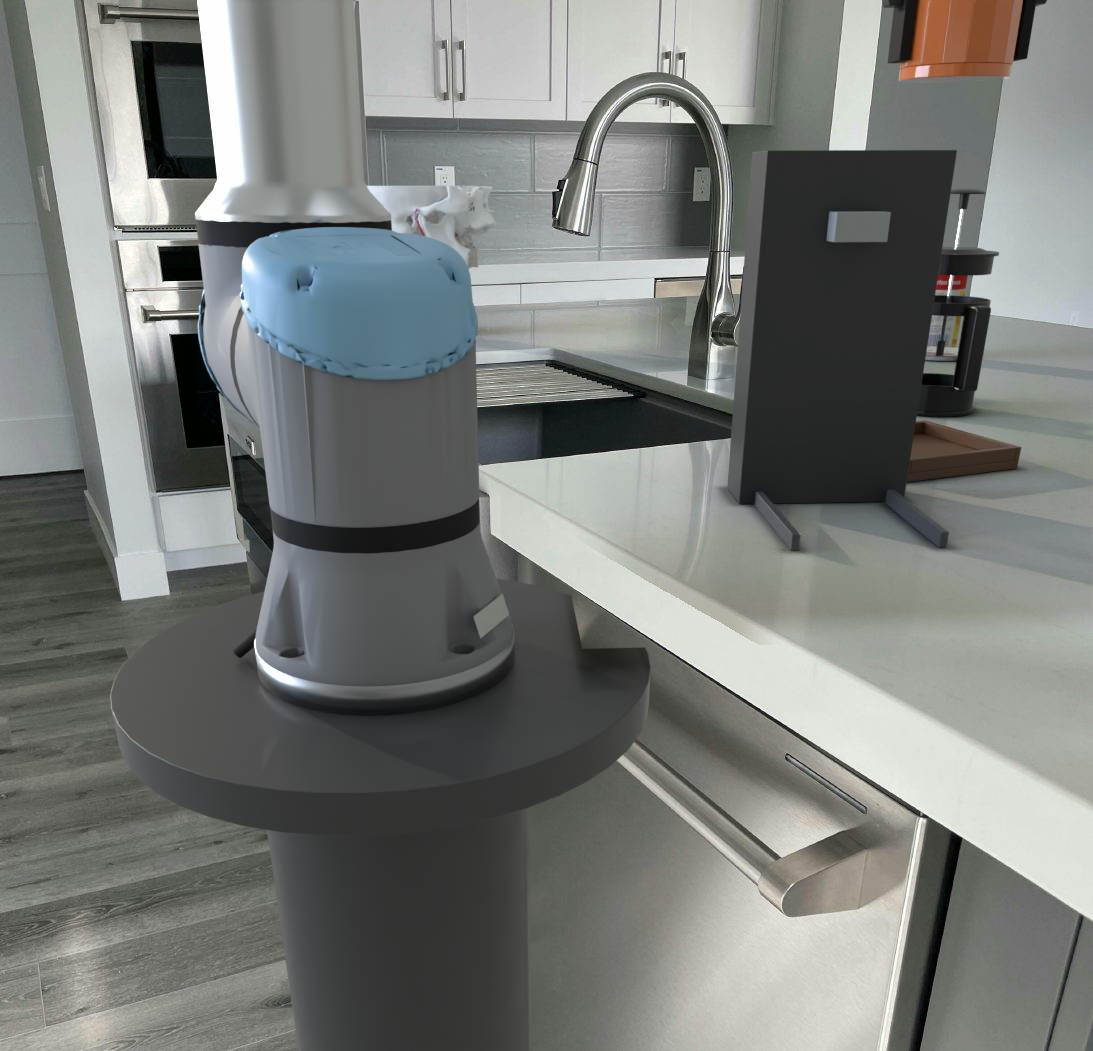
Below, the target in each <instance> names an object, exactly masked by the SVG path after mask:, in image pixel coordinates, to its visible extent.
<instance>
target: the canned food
mask: <svg viewBox="0 0 1093 1051" xmlns="http://www.w3.org/2000/svg"><path fill="white" fill-rule="evenodd" d="M949 281H950V275H938V279H937V286H936V292H935V295H947V293H948V287H949ZM967 282H968V276H957V275H954V277H953V283H952V290H951V295H953V296H966V295H965V294H966V289H967ZM943 319H944V316H935V315H932V319H931V325H930V332H929V338H928V345H927V346H937V342H938V341H939V340H940V338H941V331H942V325H943ZM961 320H962V316H947V321H946V327H945V334H944V341H945V347H956V348H957V344H958V338H959V331H960V326H961Z"/></svg>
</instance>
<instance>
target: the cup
mask: <svg viewBox="0 0 1093 1051" xmlns="http://www.w3.org/2000/svg"><path fill="white" fill-rule="evenodd" d="M1022 4H1023V0H917V5H916V13H915V21H914V30H913V38H912V46H911V54H910V60H908V61H904V62H900V63H899V73H898V82H899V83H903V84H923V85H924V84H927V85H928V84H934V85H935V84H963V83H964V84H966V83H982V82H994V81H1002V80H1008V79H1010V78H1011V77H1012V73H1013V66H1014V61H1013V60H1014V53H1015V47H1016V41H1017V35H1018V28H1019V22H1020V16H1021V10H1022Z"/></svg>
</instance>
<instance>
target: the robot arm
mask: <svg viewBox="0 0 1093 1051" xmlns="http://www.w3.org/2000/svg"><path fill="white" fill-rule="evenodd" d="M881 2H882V7H883V9H893V12H892V21H891V30H890V36H889V37H890V38H889V46H888V55H887V64H900V62H904V61H908V60H910V54H911V46H912V38H913V30H914V21H915V13H916V5H917V0H881ZM1047 2H1048V0H1023V4H1022V10H1021V16H1020V22H1019V28H1018V35H1017V41H1016V47H1015V53H1014V60H1013V62H1018V61H1022V60H1027V59H1028V55H1029V50H1030V44H1031V43H1030V42H1031V37H1032V32H1033V25H1034V18H1035V14H1036V8H1037V7H1040V6H1042V5H1046V3H1047ZM197 10H198V11H197V12H198V18H199V29H200V36H201V47H202V55H203V64H204V73H205V81H206V82H205V83H206V89H207V90H206V91H207V99H208V100H207V101H208V108H209V116H210V125H211V135H212V143H213V152H214V160H215V169H216V170H215V172H216V179H217V180H216V182H215V184H214V187H213V189H212V190H211V192H210V193H209V194H208V195H207V197H206V198H205V199H204V201H203V202H202V203H201V205H200V206H199V207H198V208H197V209H196V211H195V212H194V218H195V226H196V227H195V228H196V234H197V241H198V243H197V245H198V250H199V259H200V260H199V261H200V268H201V276H202V277H201V278H202V284H203V286H202V287H203V290H202V293H201V301H200V304H199V306H198V321H197V335H198V336H197V337H198V342H199V348H200V352H201V355H202V359H203V362H204V365H205V368H206V370H207V372H208V374H209V376H210V378H211V380H212V381H213V383H214V384H215V385H216V388H217V389H218V390H219V392H220V393H221V394H222V396H223V397H224V399H225V400H226V401H227V402H228V403H229V404H230V406H231V407H232V408H233V409H234V410H235V411H236V412H238V413H239V414H241V415H242V416H244V417H245V418H246V419H247V420H248V422H249V423H252V424H253V425H254V426H256V427H257V428H258V429H259V431H260V439H261V447H262V456H263V462H264V470H265V479H266V480H265V481H266V486H267V495H268V496H267V497H268V503H269V509H270V518H271V519H270V520H271V527H272V536H273V538H272V539H273V548H272V554H271V559H270V563H269V570H268V574H267V578H266V582H265V583H266V584H265V587H264V591H265V592H264V591H263V592H264V597H263V602H262V607H261V611H260V616H259V621H258V626H257V628H256V629H255V630H254V631H253V632H252V633H251V634H250V635H248V636H247V637H246V638H245V639H244V640H243V641H242V642H240V643H239V644H238V645H237V646H236V647H235V648H234V649H233V652H234V654H235V655H236V656H237V657H239V658H242V657H243V656H244V655H245V654H246V653H248V652H249V651H250V650H251V649H252V648H253V647H255V655H256V662H257V669H258V676H259V679H260V681H261V683H262V684H263V685H264V687H265V688H266V689H268V690H269V691H270V692H271V693H273V694H274V695H275V696H277V697H279V698H281V699H283V700H285V701H287V702H290V703H292V704H295V705H298V706H301V707H305V708H308V709H313V710H317V711H323V712H329V713H336V714H347V715H391V714H403V713H411V712H418V711H424V710H429V709H434V708H439V707H443V706H447V705H450V704H454V703H457V702H460V701H463V700H466V699H468V698H471V697H473V696H475V695H478V694H480V693H482V692H484V691H486V690H487V689H489V688H491V687H492V686H494V685H495V684H497V683H498V682H500V681H501V680H502V679H503V678H504V677H505V676H506V675H507V674H508V672H509V671H510V670H511V668H512V666H513V663H514V657H515V650H514V627H513V624H512V621H511V617H510V615H509V612H508V609H507V606H506V603H505V600H504V596H503V594H502V592H501V590H500V587H499V584H498V581H497V579H498V577H497V576H496V573H495V570H494V568H493V565H492V562H491V560H490V557H489V553H488V551H487V549H486V546H485V543H484V540H483V537H482V533H481V532H482V530H481V513H480V512H481V511H480V510H481V508H480V468H479V467H480V463H479V425H478V424H479V422H478V421H479V420H478V386H477V384H478V382H477V381H478V380H477V345H476V344H477V343H476V341H477V339H476V338H477V336H478V328H479V321H478V314H477V312H476V307H475V304H474V301H473V288H472V278H471V273H470V269H468V266H467V264H466V263H465V261H464V259H463V258H462V256H461V255H460V254H459V253H458V252H457V251H456V250H455V249H453V248H452V247H451V246H449V245H447V244H445V243H443V242H441V241H438V240H436V239H433V238H429V237H426V236H422V235H418V234H412V233H396V232H395V231H392V223H391V214H390V213H389V212H388V211H387V210H386V209H385V207H384V206H383V205H382V204H381V203H380V202H379V201H378V200H377V199H376V198H375V197H374V195H373V194H372V193H371V192H370V191H369V189H368V187H367V186H368V185H367V184H366V182H365V170H364V153H363V135H362V120H361V101H360V100H361V99H360V86H359V68H358V65H359V64H358V49H357V32H356V14H355V0H197Z"/></svg>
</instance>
